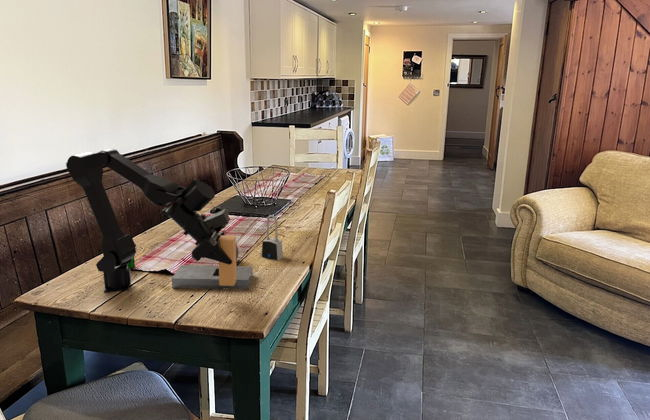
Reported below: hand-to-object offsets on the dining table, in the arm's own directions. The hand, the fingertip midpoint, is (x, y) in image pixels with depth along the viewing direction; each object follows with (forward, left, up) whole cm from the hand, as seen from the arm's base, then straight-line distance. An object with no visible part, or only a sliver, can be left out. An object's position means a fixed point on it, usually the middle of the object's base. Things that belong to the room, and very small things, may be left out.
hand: (232, 260), depth 130 cm
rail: (-4, +13, -11) cm, 18 cm away
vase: (+2, +27, -12) cm, 29 cm away
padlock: (+17, +28, -12) cm, 34 cm away
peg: (-1, 0, -7) cm, 7 cm away
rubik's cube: (-31, +31, -12) cm, 45 cm away
